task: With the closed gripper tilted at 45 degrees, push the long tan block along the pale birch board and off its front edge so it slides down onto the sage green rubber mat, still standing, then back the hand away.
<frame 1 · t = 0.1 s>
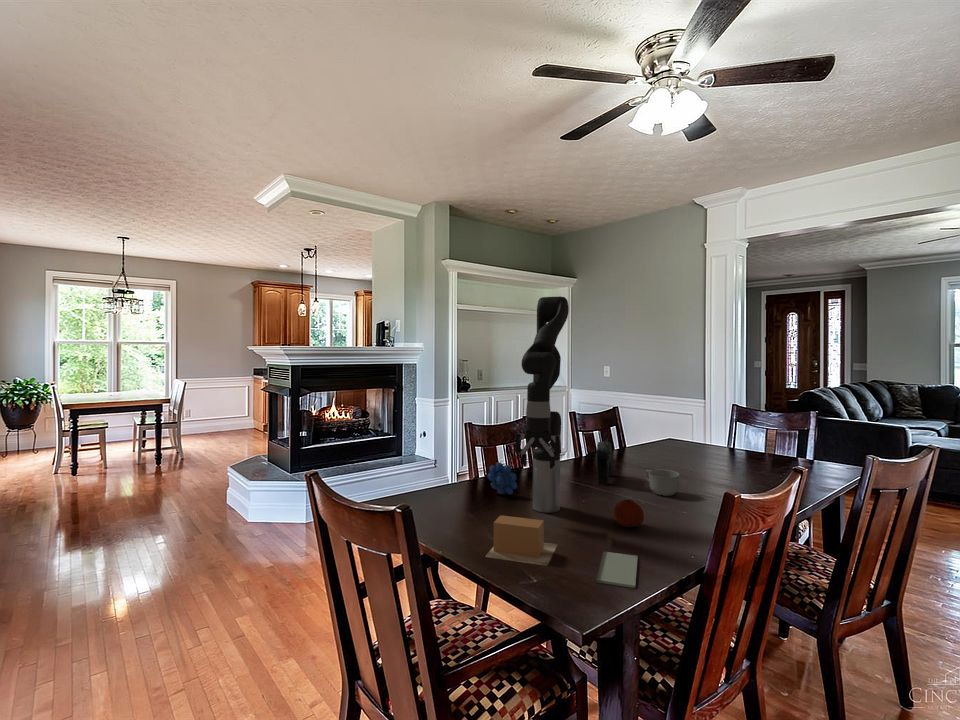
hand: (537, 467, 154), 17 cm above the table, tool pointing down, fingers open, 8 cm apart
block: (518, 549, 129), point 1 cm above the table, touching board
fruit: (628, 526, 151), on the table
board: (522, 556, 129), on the table
teacup: (660, 493, 186), on the table
mat: (594, 566, 123), on the table
grapes: (501, 495, 183), on the table
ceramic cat: (604, 480, 205), on the table
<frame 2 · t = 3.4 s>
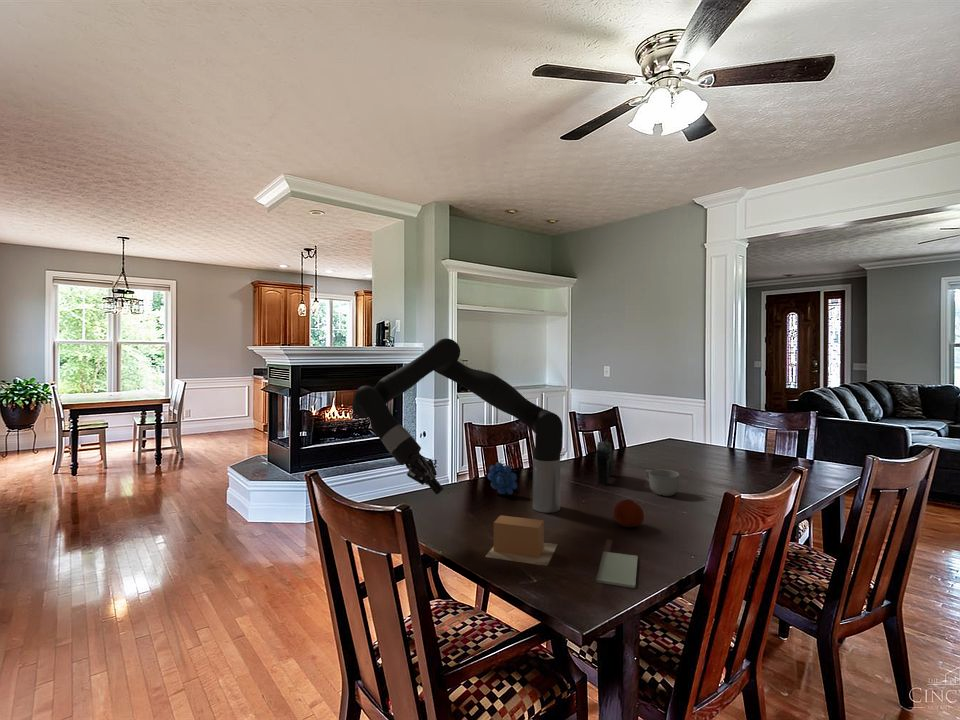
hand: (440, 491, 136), 15 cm above the table, tool tilted 45°, fingers closed
nothing on the table moved.
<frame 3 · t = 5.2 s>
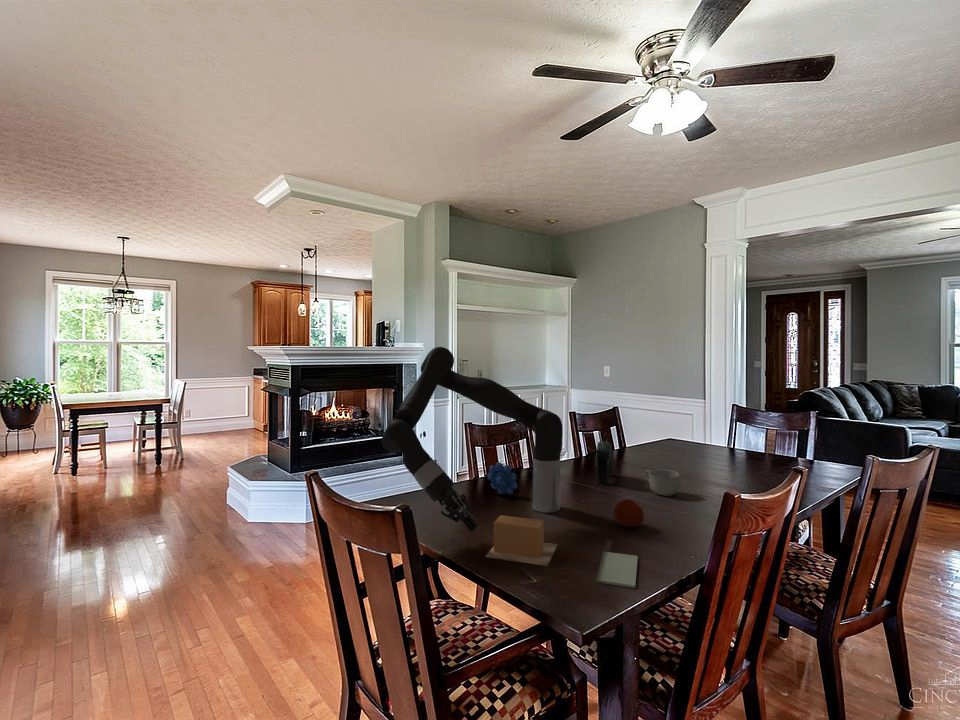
hand: (474, 529, 133), 6 cm above the table, tool tilted 45°, fingers closed
nothing on the table moved.
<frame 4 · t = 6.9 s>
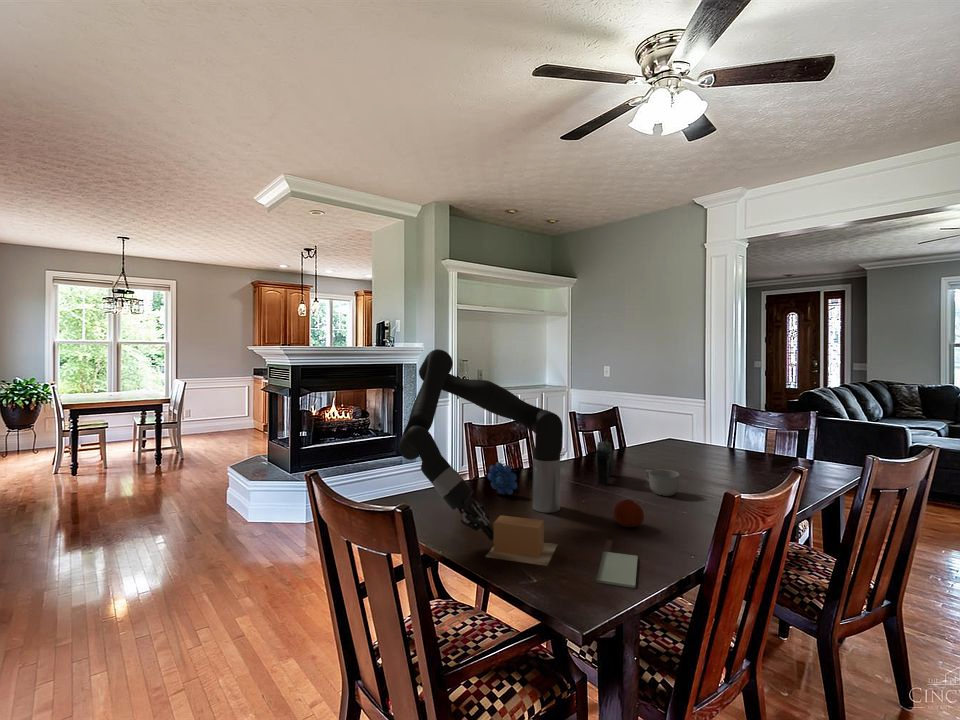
hand: (494, 537, 131), 4 cm above the table, tool tilted 45°, fingers closed
block: (518, 549, 129), point 2 cm above the table, touching board, gripper
everything else where it was.
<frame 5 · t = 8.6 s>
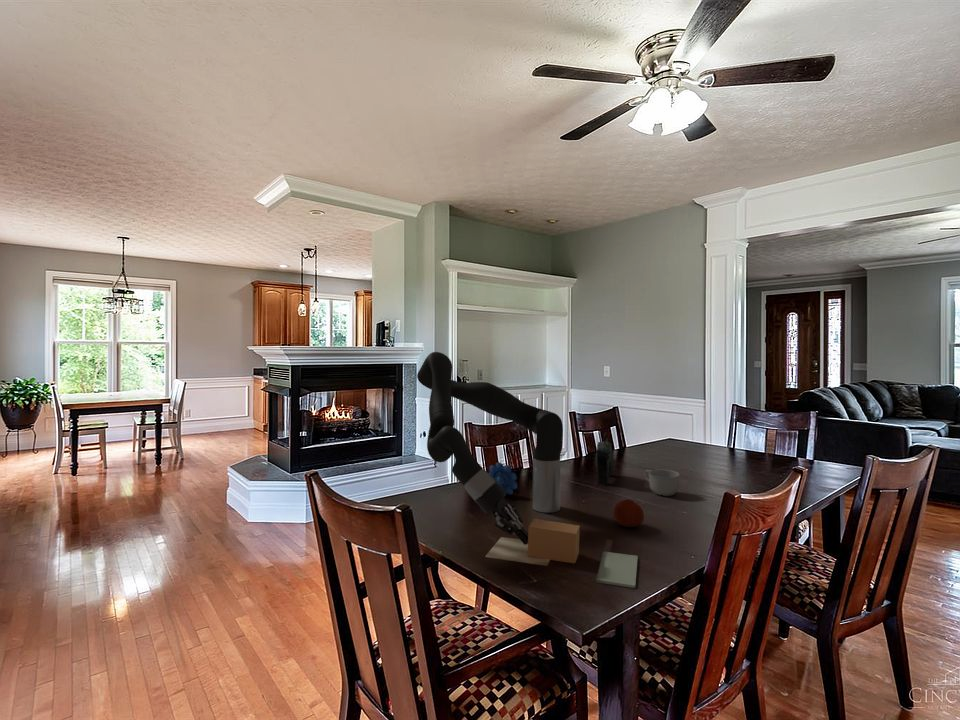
hand: (528, 541, 128), 4 cm above the table, tool tilted 45°, fingers closed
block: (553, 555, 126), point 1 cm above the table, touching gripper
everything else where it was.
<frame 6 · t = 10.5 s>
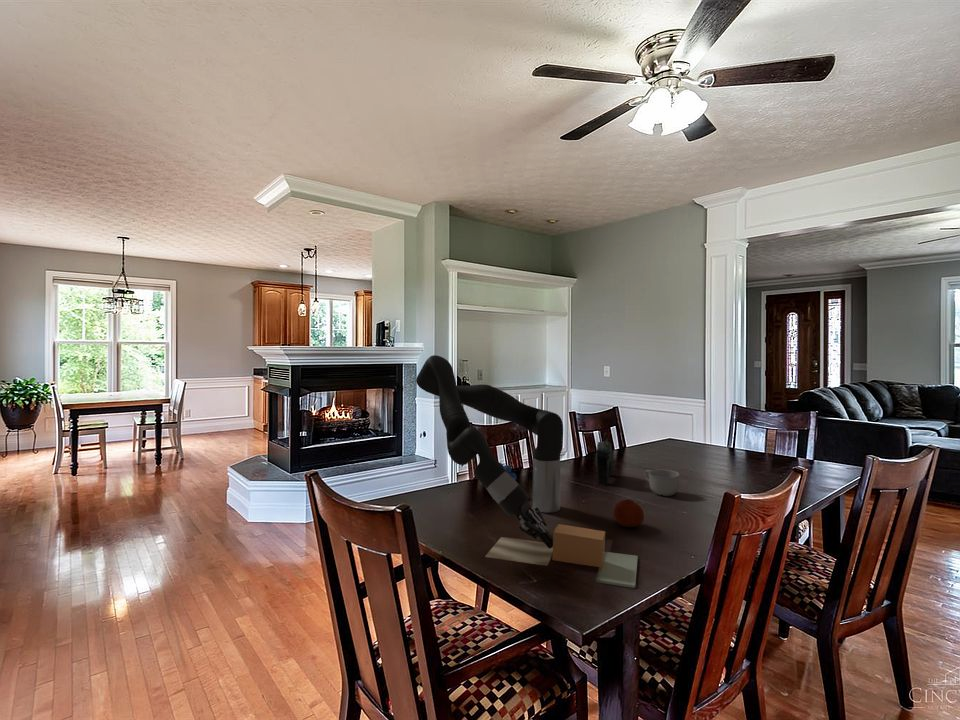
hand: (553, 545, 126), 4 cm above the table, tool tilted 45°, fingers closed
block: (578, 561, 124), point 1 cm above the table
everything else where it was.
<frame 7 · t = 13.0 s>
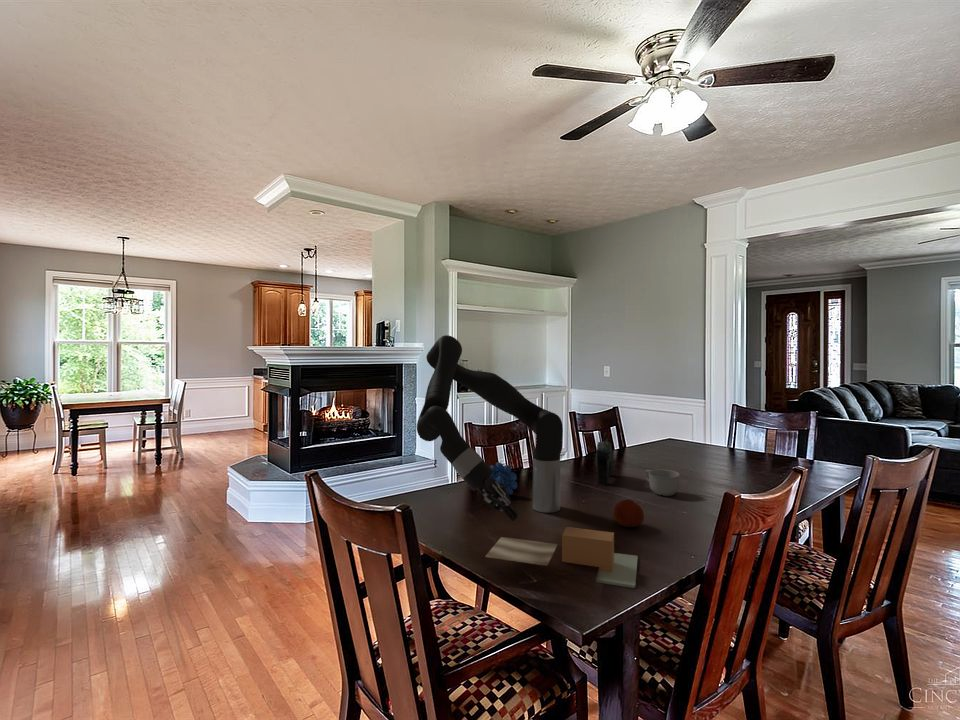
hand: (516, 518, 129), 10 cm above the table, tool tilted 45°, fingers closed
block: (588, 563, 123), point 1 cm above the table, touching mat
everything else where it was.
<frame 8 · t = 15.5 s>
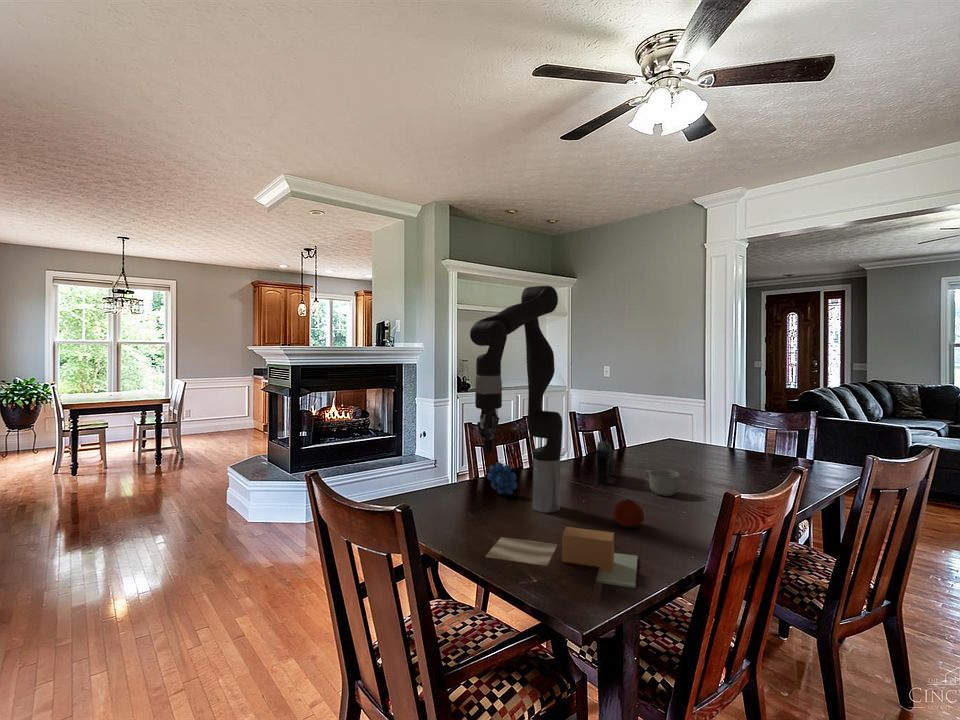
hand: (488, 452, 140), 25 cm above the table, tool pointing down, fingers closed
nothing on the table moved.
at the end: block inside the target area (2.0 cm from its centre), point 0.6 cm above the table; block tilted 0° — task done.
